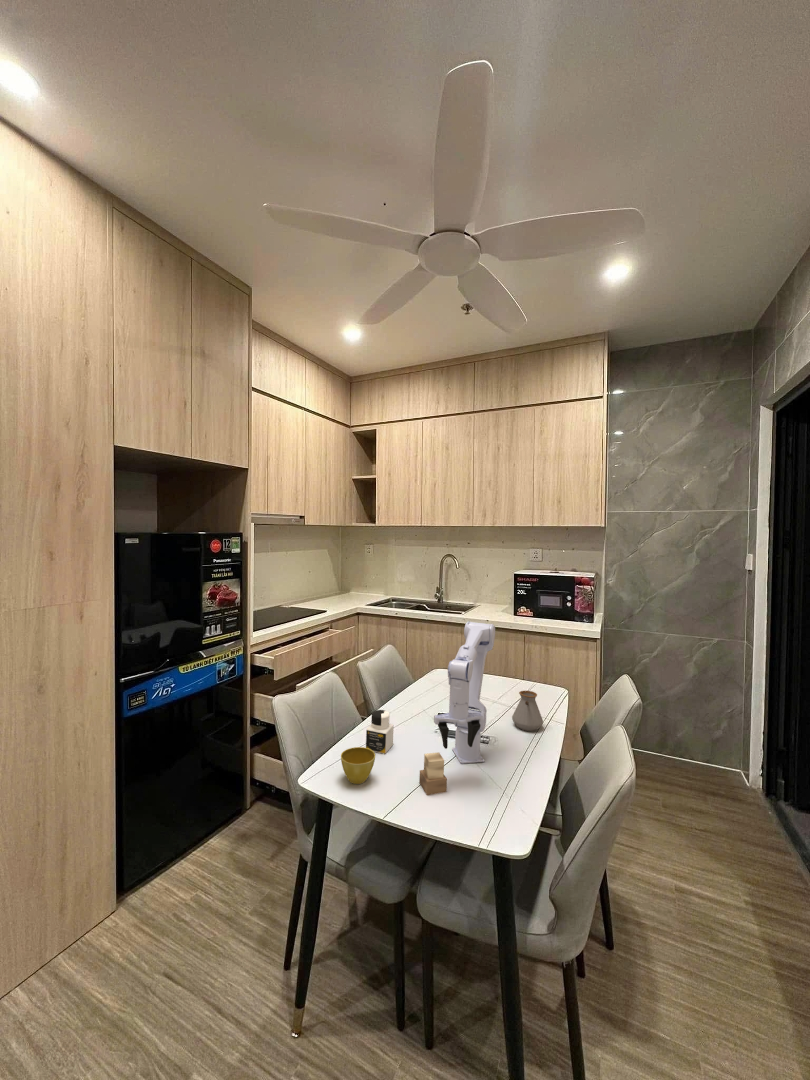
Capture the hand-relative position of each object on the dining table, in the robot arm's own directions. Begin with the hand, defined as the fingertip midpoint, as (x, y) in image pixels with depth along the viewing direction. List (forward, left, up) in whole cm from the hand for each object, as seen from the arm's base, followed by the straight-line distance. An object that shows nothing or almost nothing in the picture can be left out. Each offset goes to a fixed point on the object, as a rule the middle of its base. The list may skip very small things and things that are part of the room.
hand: (457, 746), depth 130 cm
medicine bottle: (-22, -20, -10) cm, 31 cm away
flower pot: (-4, -29, -10) cm, 31 cm away
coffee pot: (-27, +36, -10) cm, 46 cm away
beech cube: (+3, -8, -6) cm, 10 cm away
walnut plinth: (+3, -8, -10) cm, 13 cm away
